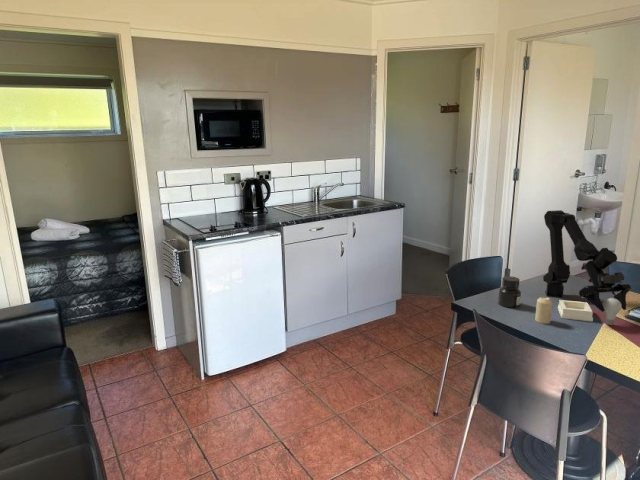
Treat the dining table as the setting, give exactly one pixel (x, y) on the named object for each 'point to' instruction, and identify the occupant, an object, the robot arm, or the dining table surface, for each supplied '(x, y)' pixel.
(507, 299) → the ink bottle
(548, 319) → the candle
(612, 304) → the lightbulb
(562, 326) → the dining table surface
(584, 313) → the socket
